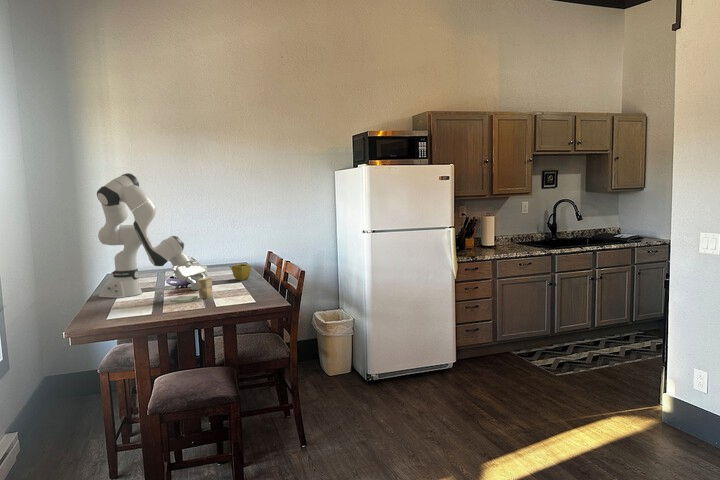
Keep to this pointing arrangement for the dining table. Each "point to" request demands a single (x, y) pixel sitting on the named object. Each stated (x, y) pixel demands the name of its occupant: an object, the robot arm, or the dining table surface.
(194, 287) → the supplement box
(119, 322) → the dining table surface
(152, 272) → the dining table surface
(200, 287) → the beech block
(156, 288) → the dining table surface
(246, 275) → the flower pot
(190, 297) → the tile
